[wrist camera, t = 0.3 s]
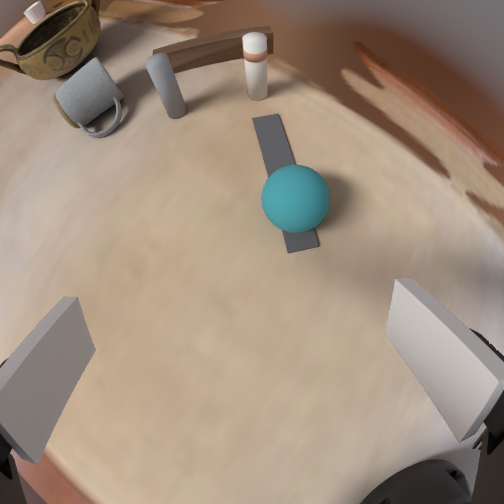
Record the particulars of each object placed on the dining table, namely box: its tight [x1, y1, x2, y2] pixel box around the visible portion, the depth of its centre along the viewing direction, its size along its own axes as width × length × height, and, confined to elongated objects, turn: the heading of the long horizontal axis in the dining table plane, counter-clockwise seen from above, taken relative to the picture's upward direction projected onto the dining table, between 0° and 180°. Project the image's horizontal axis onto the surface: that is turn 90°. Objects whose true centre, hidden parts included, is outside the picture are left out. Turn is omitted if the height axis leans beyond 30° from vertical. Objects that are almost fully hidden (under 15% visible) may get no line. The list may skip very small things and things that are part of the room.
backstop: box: [153, 26, 273, 73], centre depth 32 cm, size 2×16×4 cm, turn 102°
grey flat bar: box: [252, 114, 319, 253], centre depth 29 cm, size 16×3×1 cm, turn 12°
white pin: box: [242, 32, 268, 101], centre depth 27 cm, size 2×2×9 cm
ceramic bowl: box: [0, 0, 100, 80], centre depth 30 cm, size 22×17×15 cm
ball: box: [262, 165, 330, 233], centre depth 25 cm, size 6×6×6 cm
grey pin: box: [145, 53, 187, 119], centre depth 27 cm, size 2×2×9 cm
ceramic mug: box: [53, 57, 124, 138], centre depth 29 cm, size 11×8×8 cm
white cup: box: [24, 1, 46, 24], centre depth 45 cm, size 7×7×7 cm
